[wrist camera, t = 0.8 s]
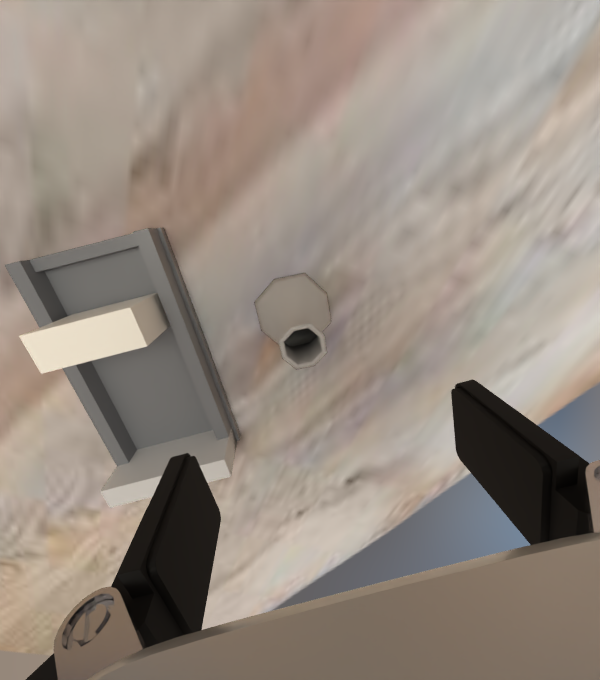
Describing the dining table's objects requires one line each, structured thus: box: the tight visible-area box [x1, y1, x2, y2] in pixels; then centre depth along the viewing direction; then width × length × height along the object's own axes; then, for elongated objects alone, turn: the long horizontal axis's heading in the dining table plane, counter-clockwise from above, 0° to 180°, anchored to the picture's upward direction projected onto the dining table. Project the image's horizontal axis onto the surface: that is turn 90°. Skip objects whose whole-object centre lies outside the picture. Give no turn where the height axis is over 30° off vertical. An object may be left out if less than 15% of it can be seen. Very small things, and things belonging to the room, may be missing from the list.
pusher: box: [19, 293, 170, 374], centre depth 25 cm, size 3×8×6 cm, turn 104°
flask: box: [254, 273, 331, 370], centre depth 25 cm, size 7×7×10 cm
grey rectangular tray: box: [5, 228, 241, 508], centre depth 27 cm, size 22×12×6 cm, turn 14°
